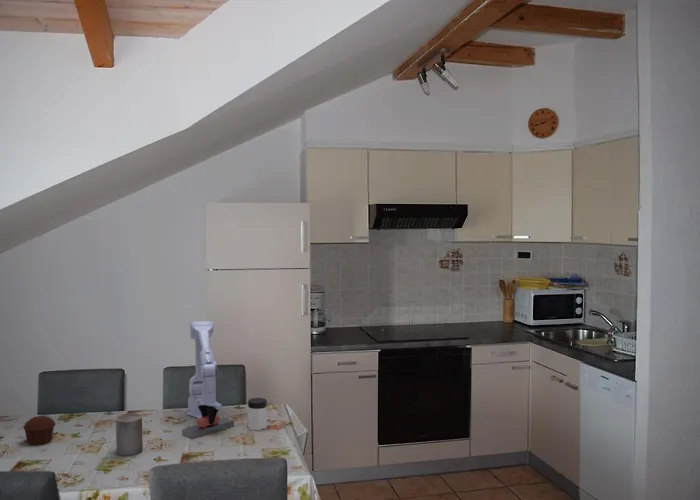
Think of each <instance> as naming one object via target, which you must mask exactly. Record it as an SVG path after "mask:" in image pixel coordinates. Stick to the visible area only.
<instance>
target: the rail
mask: <svg viewBox="0 0 700 500" xmlns="http://www.w3.org/2000/svg"><path fill="white" fill-rule="evenodd" d="M234 426H235V420H233V419H231V418H227V417H224V416H223V417H219V423H216V425H209V426H206V428H203V427H199V426H197V424H196V425H192V426H189V427H186V428H185V427H184V428H182V429H181V436H184V437H186V438H189V439H192V440H193V439H197V438H201V437H203V436H206V435H209V434H212V433H213V434H214V433H217V432H219V431H223V430H227V429H229V428H232V427H234Z"/></svg>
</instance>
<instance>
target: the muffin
mask: <svg viewBox="0 0 700 500" xmlns="http://www.w3.org/2000/svg"><path fill="white" fill-rule="evenodd" d="M55 426H56V422H55V420H54V419H53V418H51V417H49V416H46V415H37V416H33V417H32V418H30V419H28V420H27V421H26V422H25V424H24V425H23V430H24V432H25V439H26V444H27V445H29V446H42V445H47V444H49V443H51V441H52V440H53V434H54V428H55Z"/></svg>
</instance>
